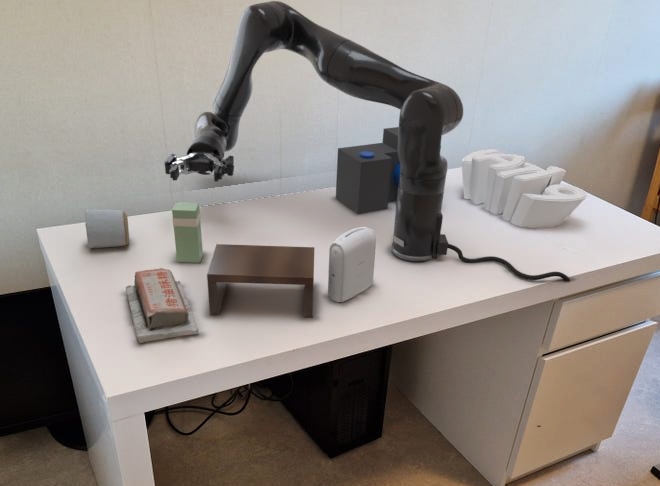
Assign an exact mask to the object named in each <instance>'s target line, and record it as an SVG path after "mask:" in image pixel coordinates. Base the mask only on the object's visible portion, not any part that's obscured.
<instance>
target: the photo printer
mask: <svg viewBox="0 0 660 486" xmlns="http://www.w3.org/2000/svg"><path fill="white" fill-rule="evenodd" d="M376 246H377V237H376V234H375V231H374V230H373V229H372V228H369V227H367V226H359V227H355V228H352V229H349V230H347V231H346V232H344V233H342V234H340V235H339V236H338V237H337V238H336V239H334V241H332V242H331V244H330V246H329V252H328V279H327V283H328V284H327V294H328V296H329V299H330V300H332V301H333V302H337V303H342V302H346V301H348V300H350V299H351V298H353V297H355V296H357V295H360V293H361V294H362V292H364V291H366V290H367V289H369V288H370V287H372V285H373V283H374V276H375V275H374V272H375V262H376V261H375V260H376Z"/></svg>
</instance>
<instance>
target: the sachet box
mask: <svg viewBox="0 0 660 486" xmlns="http://www.w3.org/2000/svg"><path fill="white" fill-rule="evenodd" d="M171 214H172V226H173V233H174V234H173V235H174V244H175V253H176V261H177V263H193V264H195V263H196V264H200V263H201V261H202V258H203V255H204V252H203V238H202V225H201V211H200V203H199V202H181V201H179V202H177V201H176V202H175V203H174V206H173V207H172V209H171Z"/></svg>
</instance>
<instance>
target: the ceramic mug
mask: <svg viewBox="0 0 660 486" xmlns="http://www.w3.org/2000/svg"><path fill="white" fill-rule="evenodd" d="M84 221H85V230H86V231H85V232H86V238H87V239H86V241H87V246H88V248H89V249H99V248H112V247H124V246H127V245H129V244H130V231H129V220H128V213H127V212H126V211H124V210H120V209H85V211H84Z"/></svg>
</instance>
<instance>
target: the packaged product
mask: <svg viewBox="0 0 660 486" xmlns="http://www.w3.org/2000/svg"><path fill="white" fill-rule="evenodd" d="M184 291H185V290H184V288H183V285H182V282H181V281H180V280H176V279H175V277H174V275H173V272H172V271H171V270H170V269H167V268H163V267H159V268H153V269H145V270H138V271H135V272H134V285H131V284H130V285H127V286H125V292H126V296H127V300H128V306H129V310H130V314H131V319H132V323H133V327H134V333H135V335H136V339H137V340H138V343H139V344H141V343H147V342H153V341H158V340H163V339H170V338H175V337H181V336H182V337H183V336H188V335H189V336H190V335H199V327H198V325H197V321H196V319H195V317H194V313H193V311H192V309H191V306H190V302H189V301H188V300H187V296H186V293H185V292H184Z"/></svg>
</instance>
